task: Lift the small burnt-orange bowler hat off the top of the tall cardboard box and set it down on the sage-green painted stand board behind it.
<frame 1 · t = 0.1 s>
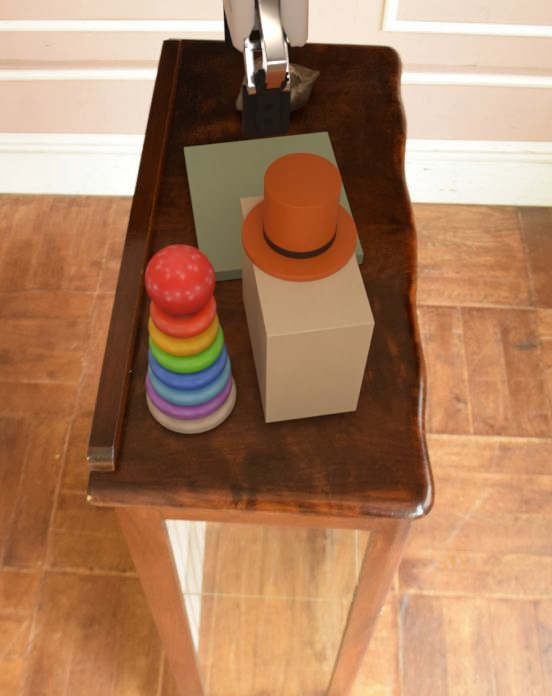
hand: (255, 88, 57), 23 cm above the table, tool pointing down, fingers open, 9 cm apart
stacking toy: (192, 399, 70), on the table
stand board: (268, 208, 82), on the table
fossilized seashell: (276, 106, 90), on the table
tall cardboard box: (296, 357, 72), on the table
hat: (299, 237, 61), point 14 cm above the table, touching tall cardboard box
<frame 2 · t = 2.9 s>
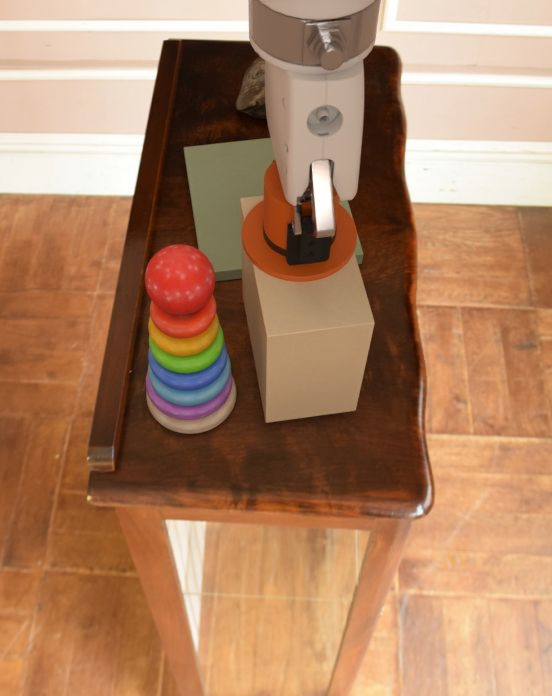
hand: (299, 227, 60), 15 cm above the table, tool pointing down, fingers closed on hat, 5 cm apart
hat: (299, 237, 61), point 14 cm above the table, touching gripper, tall cardboard box
everything else where it was.
when the fingers open (3 cm above the table, at t = 11.2 s): hat stays where it is, resting on stand board.
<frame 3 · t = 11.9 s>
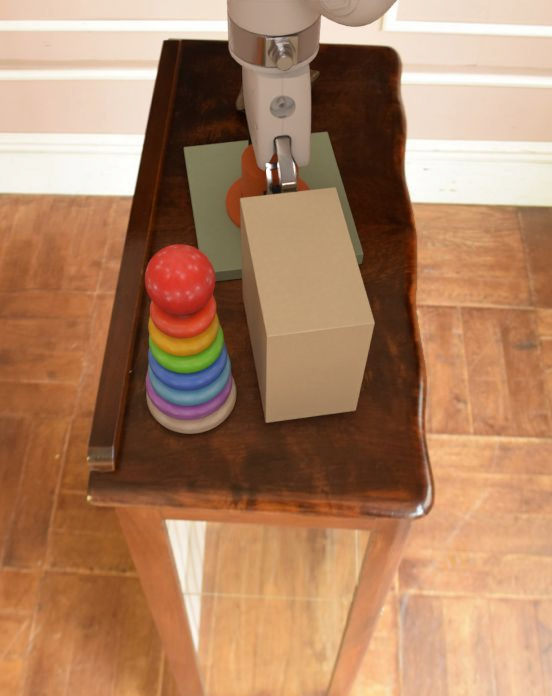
hand: (271, 185, 78), 4 cm above the table, tool pointing down, fingers open, 9 cm apart
hat: (269, 204, 80), point 1 cm above the table, touching stand board
everything else where it was.
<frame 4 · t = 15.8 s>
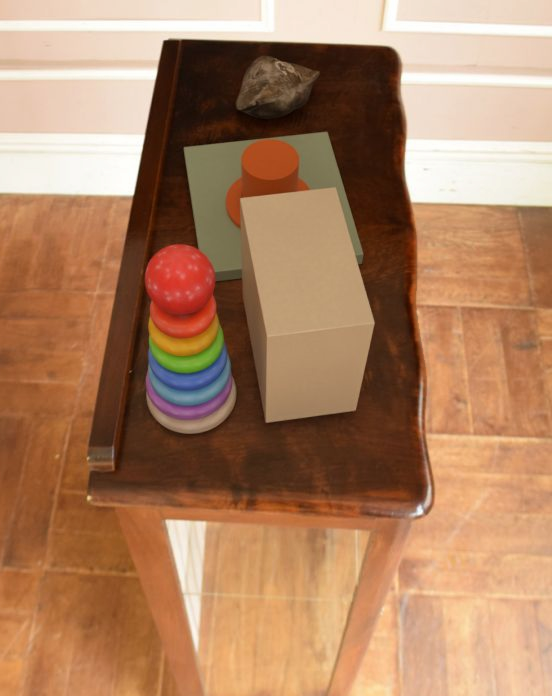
nothing on the table moved.
at the end: hat inside the target area on the stand board (1.0 cm from its centre), point 1.5 cm above the stand board's base; hat tilted 0°; the gripper is holding nothing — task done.
